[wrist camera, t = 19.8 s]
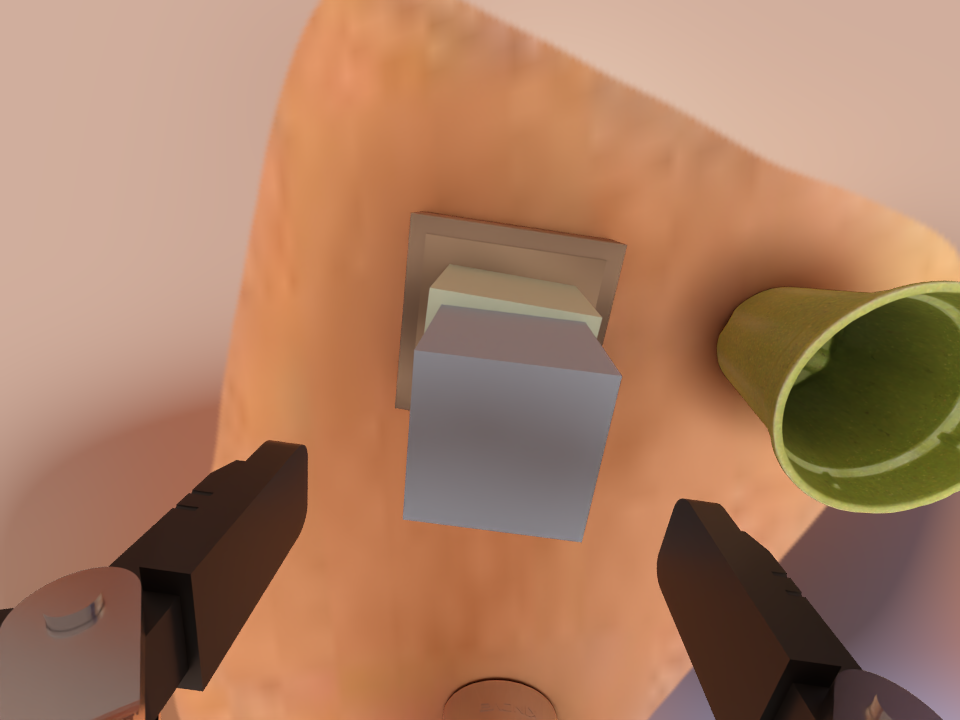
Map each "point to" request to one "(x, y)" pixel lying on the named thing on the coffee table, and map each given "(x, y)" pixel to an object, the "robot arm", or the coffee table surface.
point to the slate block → (507, 423)
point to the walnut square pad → (498, 269)
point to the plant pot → (854, 389)
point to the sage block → (509, 296)
